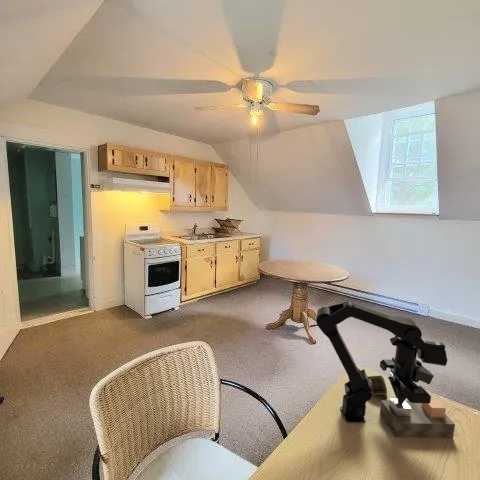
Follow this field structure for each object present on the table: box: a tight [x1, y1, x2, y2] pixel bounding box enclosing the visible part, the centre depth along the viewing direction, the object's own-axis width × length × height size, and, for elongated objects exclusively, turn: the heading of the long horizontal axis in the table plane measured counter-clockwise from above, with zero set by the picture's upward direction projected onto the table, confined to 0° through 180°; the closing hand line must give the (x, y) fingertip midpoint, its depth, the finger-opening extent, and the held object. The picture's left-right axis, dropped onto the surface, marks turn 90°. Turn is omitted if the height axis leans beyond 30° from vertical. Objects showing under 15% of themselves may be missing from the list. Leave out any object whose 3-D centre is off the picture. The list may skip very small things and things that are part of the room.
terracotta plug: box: [422, 397, 447, 418], centre depth 92 cm, size 4×4×5 cm
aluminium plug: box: [389, 398, 411, 417], centre depth 92 cm, size 4×4×5 cm
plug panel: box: [379, 399, 456, 439], centre depth 92 cm, size 18×10×5 cm, turn 90°
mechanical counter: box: [368, 375, 388, 399], centre depth 108 cm, size 7×13×10 cm
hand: (400, 403), depth 91 cm, fingers closed, pressing on aluminium plug
